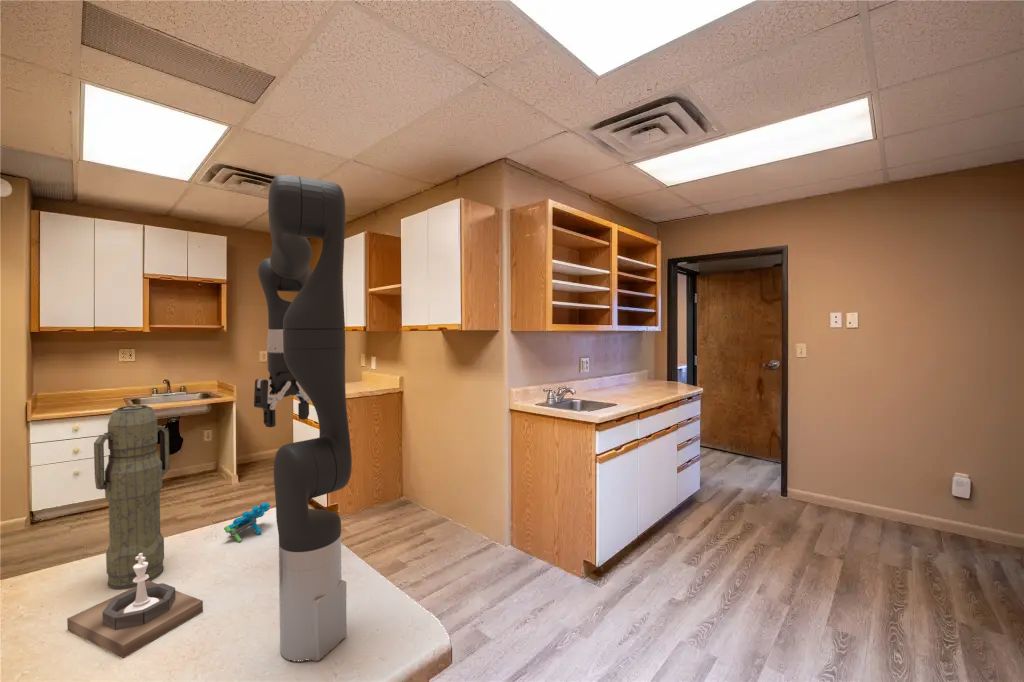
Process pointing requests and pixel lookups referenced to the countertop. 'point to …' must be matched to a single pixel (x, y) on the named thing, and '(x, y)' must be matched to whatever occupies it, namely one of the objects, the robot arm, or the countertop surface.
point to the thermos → (133, 492)
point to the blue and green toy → (247, 521)
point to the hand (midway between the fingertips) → (287, 422)
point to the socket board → (134, 633)
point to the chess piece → (140, 587)
